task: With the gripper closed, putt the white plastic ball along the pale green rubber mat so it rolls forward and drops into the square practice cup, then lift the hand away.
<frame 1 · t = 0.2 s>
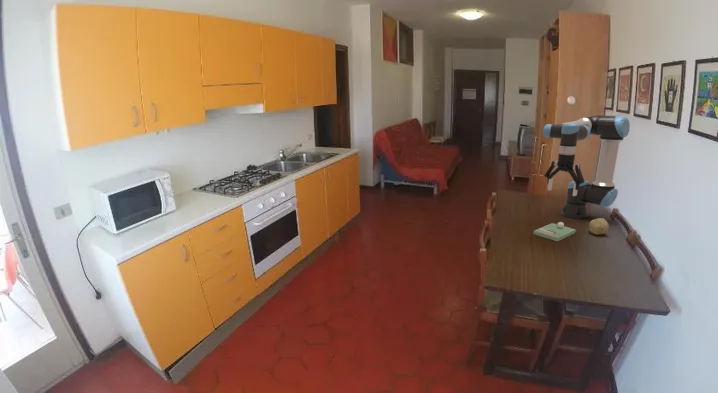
hand: (561, 192, 195), 27 cm above the table, fingers open, 13 cm apart
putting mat: (554, 233, 212), on the table
ball: (560, 224, 214), point 4 cm above the table, touching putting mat
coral: (596, 234, 210), on the table
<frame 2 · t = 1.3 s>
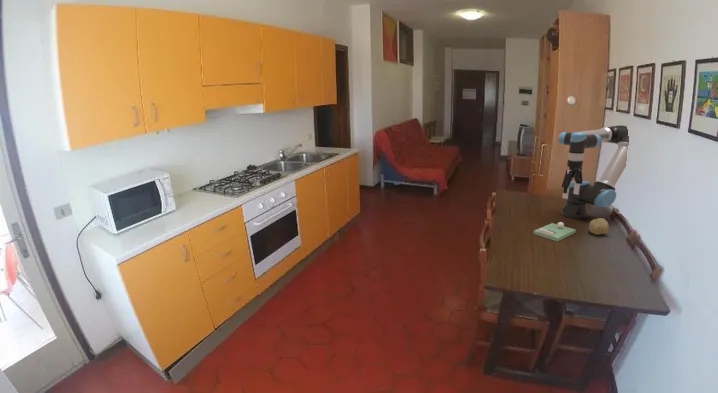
hand: (570, 196, 213), 20 cm above the table, fingers open, 12 cm apart
nothing on the table moved.
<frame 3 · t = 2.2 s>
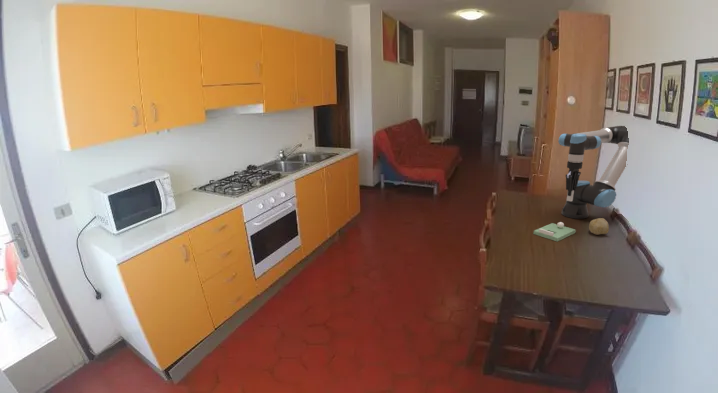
hand: (569, 200, 214), 17 cm above the table, fingers closed
nothing on the table moved.
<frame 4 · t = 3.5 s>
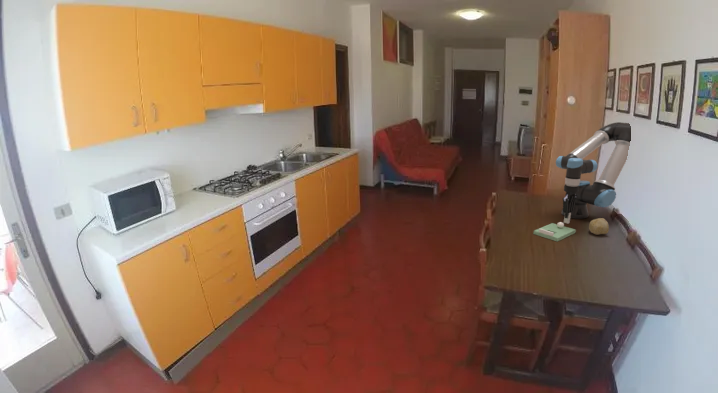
hand: (566, 222, 218), 3 cm above the table, fingers closed
nothing on the table moved.
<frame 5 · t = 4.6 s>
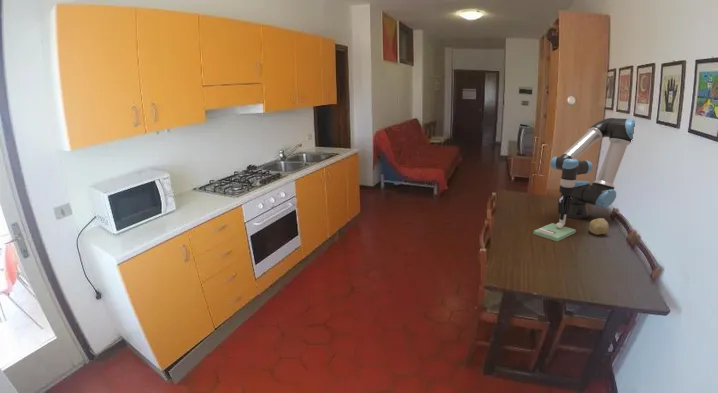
hand: (561, 224, 215), 4 cm above the table, fingers closed
ball: (559, 225, 213), point 4 cm above the table, tilted 28°, touching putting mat
everything else where it was.
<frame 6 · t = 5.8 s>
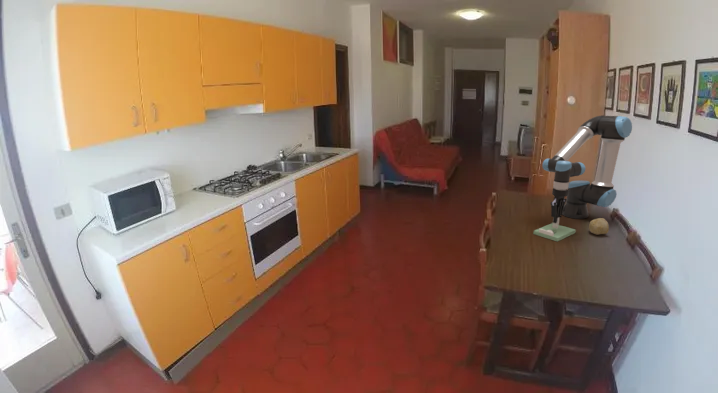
hand: (555, 227, 211), 4 cm above the table, fingers closed
ball: (549, 232, 208), point 2 cm above the table, tilted 34°
everything else where it was.
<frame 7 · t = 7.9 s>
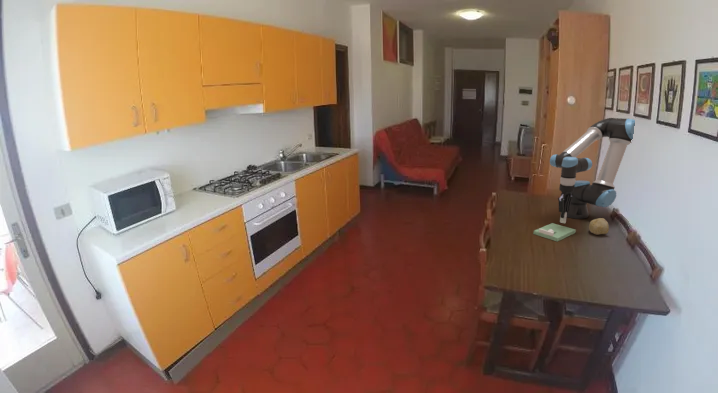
hand: (562, 222, 215), 5 cm above the table, fingers closed
ball: (550, 232, 209), point 2 cm above the table
everything else where it was.
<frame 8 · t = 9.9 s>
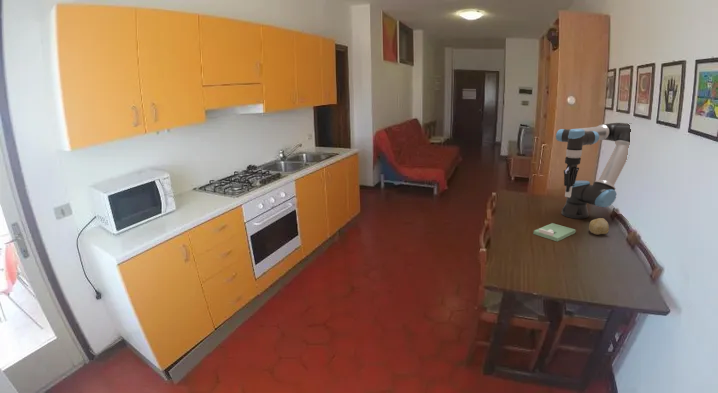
hand: (567, 196, 211), 20 cm above the table, fingers closed
ball: (550, 232, 209), point 2 cm above the table, tilted 8°
everything else where it was.
at the end: ball 0.3 cm from the target spot on the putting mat, point 1.8 cm above the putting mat's base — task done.
